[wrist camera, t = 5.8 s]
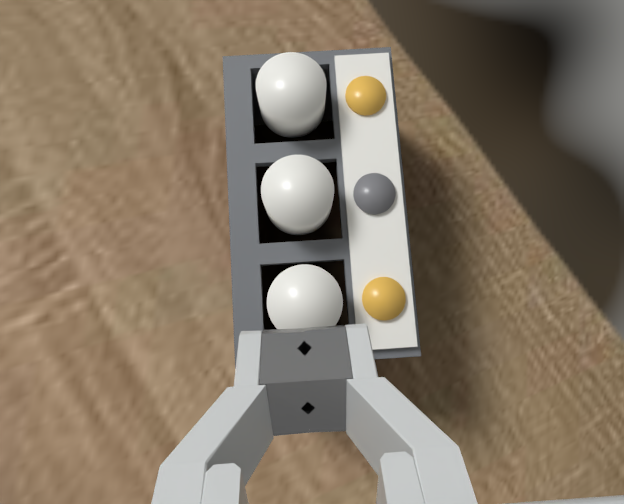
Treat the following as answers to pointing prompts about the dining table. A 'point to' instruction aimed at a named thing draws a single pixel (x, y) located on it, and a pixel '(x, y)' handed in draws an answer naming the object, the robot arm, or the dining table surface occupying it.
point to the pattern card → (374, 200)
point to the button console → (244, 195)
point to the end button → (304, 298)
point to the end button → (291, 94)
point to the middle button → (297, 194)
